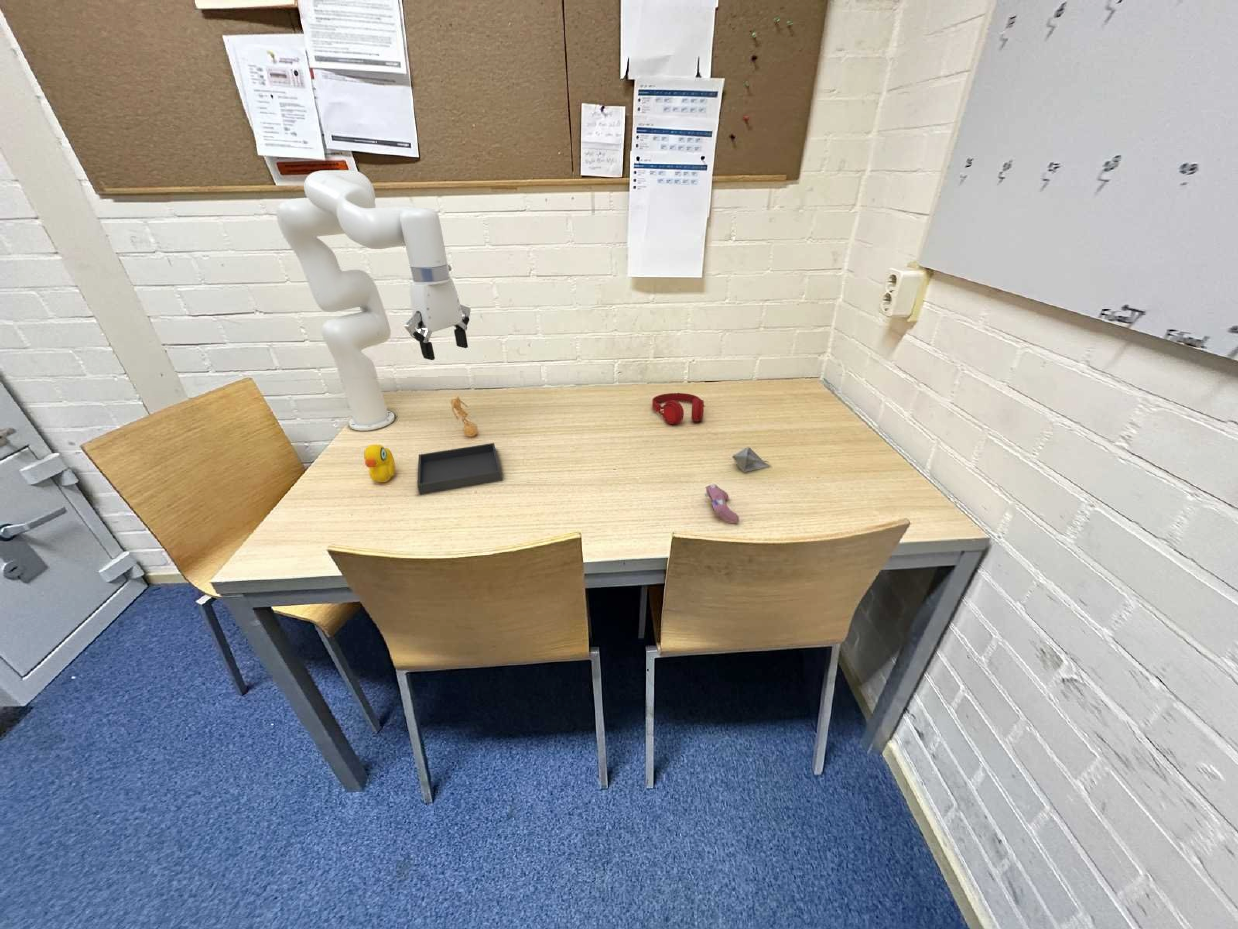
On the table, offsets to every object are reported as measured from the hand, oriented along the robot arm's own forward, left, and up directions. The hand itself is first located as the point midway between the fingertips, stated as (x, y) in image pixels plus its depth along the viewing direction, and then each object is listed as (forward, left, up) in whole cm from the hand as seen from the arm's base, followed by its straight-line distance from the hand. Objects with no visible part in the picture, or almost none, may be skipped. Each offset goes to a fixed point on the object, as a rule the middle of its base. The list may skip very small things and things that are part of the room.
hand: (446, 352), depth 113 cm
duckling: (+1, -20, -30) cm, 36 cm away
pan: (+4, -2, -30) cm, 30 cm away
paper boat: (+27, +67, -30) cm, 78 cm away
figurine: (-16, +1, -30) cm, 34 cm away
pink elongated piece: (+40, +52, -30) cm, 72 cm away
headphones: (-10, +64, -30) cm, 71 cm away
